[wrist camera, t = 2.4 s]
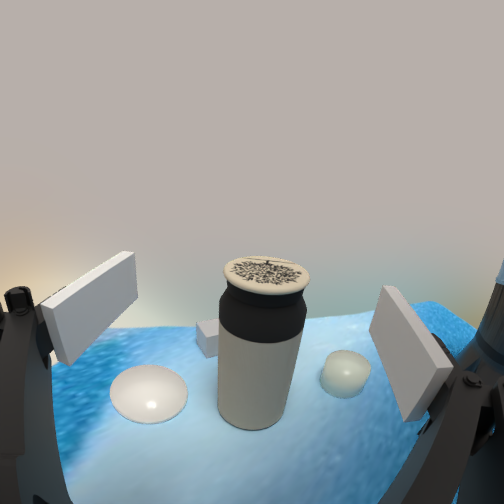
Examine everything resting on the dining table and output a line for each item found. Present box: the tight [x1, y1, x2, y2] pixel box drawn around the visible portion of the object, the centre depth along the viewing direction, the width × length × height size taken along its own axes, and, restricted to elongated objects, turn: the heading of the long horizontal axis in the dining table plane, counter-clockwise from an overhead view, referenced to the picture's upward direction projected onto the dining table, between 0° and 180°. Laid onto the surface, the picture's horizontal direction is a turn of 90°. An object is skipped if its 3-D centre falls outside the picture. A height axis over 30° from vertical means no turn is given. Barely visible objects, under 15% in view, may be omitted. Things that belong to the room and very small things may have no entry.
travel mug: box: [218, 256, 310, 430], centre depth 27 cm, size 8×8×18 cm
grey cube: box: [196, 318, 219, 358], centre depth 40 cm, size 4×4×4 cm
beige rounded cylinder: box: [320, 350, 371, 399], centre depth 33 cm, size 6×6×4 cm
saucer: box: [110, 365, 188, 424], centre depth 29 cm, size 10×10×1 cm
